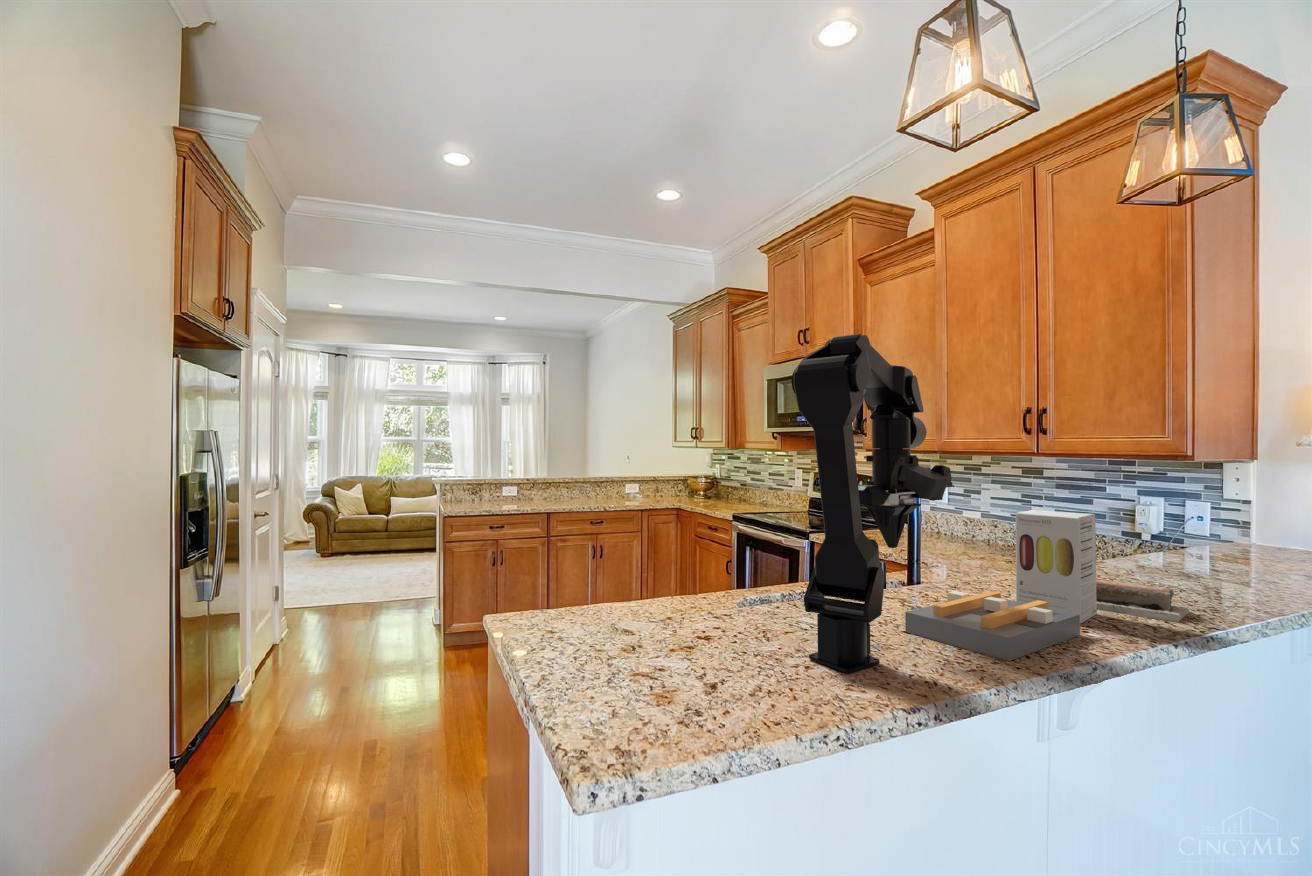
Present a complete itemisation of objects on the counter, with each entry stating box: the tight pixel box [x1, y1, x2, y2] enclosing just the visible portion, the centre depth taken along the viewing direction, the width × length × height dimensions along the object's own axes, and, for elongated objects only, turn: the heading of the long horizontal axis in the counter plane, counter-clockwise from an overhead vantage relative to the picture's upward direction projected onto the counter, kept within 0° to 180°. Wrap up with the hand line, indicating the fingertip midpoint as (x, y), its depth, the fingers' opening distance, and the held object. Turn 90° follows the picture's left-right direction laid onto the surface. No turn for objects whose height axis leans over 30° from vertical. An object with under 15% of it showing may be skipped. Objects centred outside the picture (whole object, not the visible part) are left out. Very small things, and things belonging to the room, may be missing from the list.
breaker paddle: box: [984, 597, 1008, 612], centre depth 89 cm, size 2×2×2 cm
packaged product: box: [1096, 577, 1190, 623], centre depth 103 cm, size 18×5×10 cm
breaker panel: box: [904, 590, 1081, 662], centre depth 88 cm, size 20×15×5 cm
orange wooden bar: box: [932, 591, 1002, 617], centre depth 91 cm, size 16×1×1 cm, turn 122°
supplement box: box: [1015, 509, 1098, 624], centre depth 99 cm, size 10×9×17 cm
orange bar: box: [981, 600, 1048, 629], centre depth 85 cm, size 16×1×1 cm, turn 122°
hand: (892, 547), depth 94 cm, fingers closed
